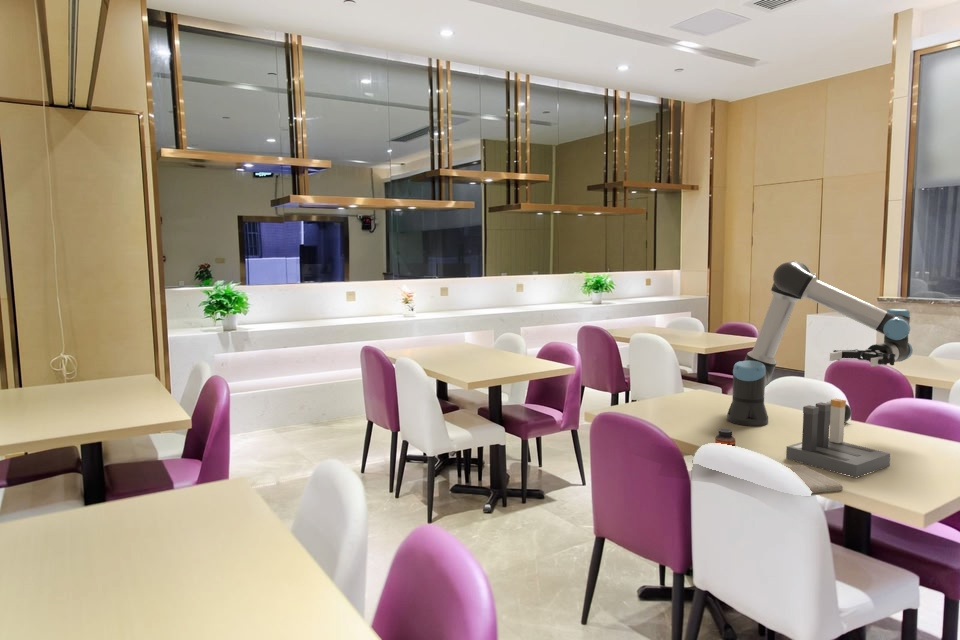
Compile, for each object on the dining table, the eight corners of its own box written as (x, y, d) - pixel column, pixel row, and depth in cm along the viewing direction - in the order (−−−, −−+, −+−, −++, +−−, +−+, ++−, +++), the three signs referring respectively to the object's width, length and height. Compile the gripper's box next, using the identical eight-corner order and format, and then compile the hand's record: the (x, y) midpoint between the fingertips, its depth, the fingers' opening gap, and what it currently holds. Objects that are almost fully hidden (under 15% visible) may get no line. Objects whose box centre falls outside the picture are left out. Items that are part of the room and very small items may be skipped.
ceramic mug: (837, 417, 256) (837, 398, 255) (851, 422, 248) (852, 403, 247) (813, 418, 255) (813, 400, 254) (826, 424, 247) (827, 405, 246)
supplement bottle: (735, 463, 202) (736, 428, 200) (734, 469, 196) (735, 433, 195) (715, 460, 204) (716, 426, 203) (713, 466, 199) (714, 431, 198)
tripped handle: (828, 441, 210) (830, 399, 208) (833, 439, 212) (836, 398, 210) (838, 443, 207) (840, 401, 206) (843, 441, 209) (845, 400, 207)
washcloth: (799, 471, 195) (800, 461, 195) (844, 492, 178) (845, 481, 178) (766, 474, 193) (766, 464, 193) (808, 496, 176) (808, 485, 175)
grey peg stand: (786, 458, 206) (788, 404, 204) (820, 447, 217) (822, 396, 215) (856, 478, 188) (859, 419, 186) (889, 465, 198) (893, 409, 196)
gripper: (920, 369, 218) (889, 376, 207) (846, 359, 239) (814, 365, 228) (921, 347, 217) (890, 353, 206) (847, 339, 238) (815, 344, 227)
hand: (850, 359), depth 217 cm, fingers open, 13 cm apart
